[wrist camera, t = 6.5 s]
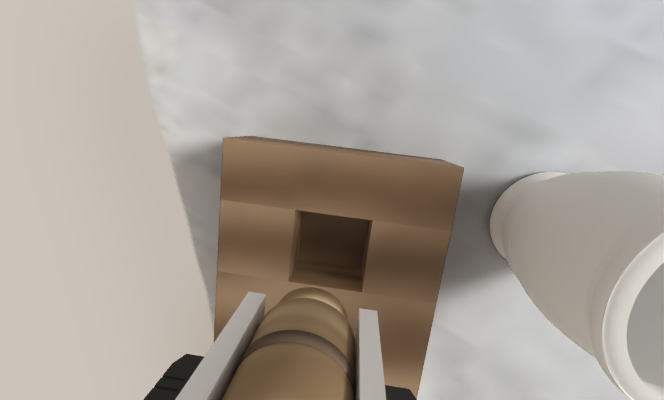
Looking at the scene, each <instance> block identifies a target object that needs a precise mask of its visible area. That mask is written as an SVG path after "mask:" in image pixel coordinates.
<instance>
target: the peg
mask: <svg viewBox="0 0 664 400" xmlns="http://www.w3.org/2000/svg"><path fill="white" fill-rule="evenodd" d="M355 395H356V381H355V338H354V334H353V331H352V328H351V326H350V324H349V321H348V315H347V312H346V310H345V308H344V306H343V304H342V303H341V302H340V301H339V300H338V298H336V297H335V296H334V295H333V294H331V293H329V292H327V291H325V290H323V289H320V288H315V287H303V288H298V289H295V290H293V291H291V292H289V293H287V294H286V295H285V296H284V297H283V298H282V299H281V300H280V301H279V303H278V304H277V305H276V306H274V307H273V308H272V309H270V310H269V311H268V313H267V314H266V315H265V316H264V318H263V319H262V321H261V323H260V325H259V327H258V329H257V331H256V333H255V335H254V337H253V339H252V341H251V343H250V345H249V347H248V348H247V349H246V351H245V352H244V354H243V355H242V357H241V359H240V361H239V363H238V365H237V367H236V369H235V371H234V373H233V376H232V380H231V382H230V384H229V386H228V388H227V390H226V392H225V394H224V396H223V398H222V400H355Z"/></svg>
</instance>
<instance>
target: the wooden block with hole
mask: <svg viewBox="0 0 664 400" xmlns="http://www.w3.org/2000/svg"><path fill="white" fill-rule="evenodd" d="M463 172H464V168H463V167H460V166H458V165H455V164H452V163H449V162H446V161H444V160H440V159H432V158H424V157H416V156H408V155H400V154H392V153H384V152H376V151H368V150H360V149H351V148H343V147H335V146H327V145H319V144H311V143H303V142H295V141H287V140H279V139H271V138H263V137H255V136H244V137H227V138H223V153H222V175H221V197H220V219H219V241H218V263H217V284H216V306H215V328H214V342H215V341H216V339H217V338H218V336H219V335H220V333H221V332H222V330H223V329H224V327H225V326H226V324H227V323H228V321H229V320H230V318H231V317H232V316H233V314H234V313H235V311H236V310H237V308H238V307H239V305H240V304H241V302H242V301H243V299H244V298H245V296H246V295H247V294H248V292H255V293H262V294H266V300H265V312H264V316H265V315H266V314H267V313H268V311H269V310H270V309H272V308H273V307H274V306H276V305H277V304H278V303H279V301H280V300H281V299H282V298H283V297H284V296H285V295H286V294H287V293H289V292H291V291H293V290H295V289H298V288H303V287H315V288H320V289H323V290H325V291H327V292H329V293H331V294H333V295H334V296H335V297H336V298H338V300H339V301H340V302H341V303H342V304H343V306H344V308H345V310H346V312H347V315H348V321H349V324H350V326H351V328H352V331H353V334H354V338H355V334H356V327H357V320H358V314H359V308H361V309H368V310H375V311H377V314H378V324H379V334H380V344H381V353H382V363H383V373H384V383H385V385H388V386H394V387H400V388H406V389H410V390H411V392H412V393H413V395H414V396H415V398H416V399H417V394H418V390H419V385H420V380H421V375H422V370H423V365H424V360H425V356H426V351H427V346H428V341H429V336H430V331H431V327H432V322H433V317H434V312H435V307H436V302H437V298H438V293H439V288H440V283H441V278H442V273H443V268H444V264H445V259H446V254H447V249H448V244H449V239H450V235H451V230H452V225H453V220H454V215H455V210H456V205H457V201H458V196H459V191H460V186H461V181H462V176H463Z"/></svg>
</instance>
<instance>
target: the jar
mask: <svg viewBox="0 0 664 400" xmlns="http://www.w3.org/2000/svg"><path fill="white" fill-rule="evenodd" d="M490 234H491V238H492V241H493V243H494V245H495V247H496V249H497V250H498V252H499V253H500V254H501V255H502V256H503V257H504V258H505V259H507V261H508V263H509V265H510V267H511V269H512V271H513V272H514V274H515V276H516V277H517V278H518V280H519V281H520V283H521V285H522V287H523V288H524V290H525V291H526V293H527V295H528V296H529V297H530V299H531V300H532V302H533V303H534V304H535V305H536V307H537V308H538V309H539V310H540V311H541V312H542V314H543V315H544V316H545V317H546V318H547V319H548V320H549V321H550V322H551V323H552V324H553V325H554V326H555V327H556V328H557V329H559V330H560V331H561V332H562V333H563V334H564V335H565V336H567V337H568V338H569V339H570V340H572V341H573V342H574V343H575V344H577V345H578V346H579V347H581V348H582V349H584V350H585V351H586V352H588V353H589V354H591V355H592V356H594V357H595V358H597V360H598V362H599V364H600V366H601V367H602V369H603V371H604V372H605V373H606V375H607V376H608V378H609V379H610V380H611V381H612V382H613V383H614V385H615V386H616V387H617V388H618V389H620V390H621V391H622V392H623V393H624V394H625V395H627V396H628V397H629V398H630V399H632V400H664V174H658V173H649V172H636V171H606V172H581V173H571V174H565V173H560V172H542V173H536V174H533V175H530V176H527V177H525V178H522V179H521V180H519V181H517V182H515V183H514V184H513V185H511V186H510V187H509V188H508V189H507V190H506V191H505V192H504V193H503V194H502V195H501V196H500V198H499V199H498V201H497V202H496V204H495V206H494V208H493V211H492V214H491V218H490Z"/></svg>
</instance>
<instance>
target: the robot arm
mask: <svg viewBox="0 0 664 400" xmlns="http://www.w3.org/2000/svg"><path fill="white" fill-rule="evenodd" d="M265 300H266V294H262V293H255V292H248V294H247V295H246V296H245V298H244V299H243V301H242V302H241V304H240V305H239V307H238V308H237V310H236V311H235V313H234V314H233V316H232V317H231V318H230V320H229V321H228V323H227V324H226V326H225V327H224V329H223V330H222V332H221V333H220V335H219V336H218V338H217V339H216V341H215V342H214V343H213V345H212V346H211V348H210V349H209V351H208V352H207V354H206V355H205V357H202V356H196V355H190V354H186V355H184V356H183V357H182V358H180V359H178V360H177V361H175V362H174V363H173V364H172V365H171V366H170V367H169V369H168V370H167V371H166V372H165V373H164V375H163V377H162V378H161V379H160V380H159V381H158V382H157V383H156V385H155V387H154V388H153V389H152V390H151V391H150V392H149V394H148V395H147V396H146V397H145V399H144V400H222V398H223V396H224V394H225V392H226V390H227V388H228V386H229V384H230V382H231V380H232V376H233V373H234V371H235V369H236V367H237V365H238V363H239V361H240V359H241V357H242V355H243V354H244V352H245V351H246V349H247V348H248V347H249V345H250V343H251V341H252V339H253V337H254V335H255V333H256V331H257V329H258V327H259V325H260V323H261V321H262V319H263V318H264V312H265ZM355 381H356V395H355V400H417V399H416V398H415V396H414V395H413V393H412V392H411V390H410V389H406V388H400V387H394V386H388V385H385V383H384V373H383V363H382V353H381V344H380V334H379V324H378V314H377V311H375V310H368V309H361V308H359V314H358V320H357V327H356V334H355Z"/></svg>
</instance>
